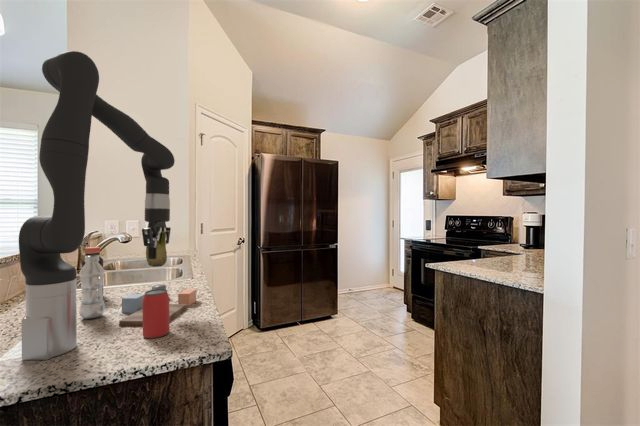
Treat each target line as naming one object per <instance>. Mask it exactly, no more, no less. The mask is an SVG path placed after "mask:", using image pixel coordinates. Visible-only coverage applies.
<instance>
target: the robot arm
mask: <svg viewBox="0 0 640 426" xmlns="http://www.w3.org/2000/svg"><path fill="white" fill-rule="evenodd" d="M41 72H42V75H43V77H44V78H45V80H46V82H47V83H48V84H49V85H51V87H53V88H54V89H55V90H56V91H57V92H58V93H59V96H58V100H57V102H56V105H55V107H54V109H53V111H52V113H51V115H50V117H49V119H48V121H47V122H46V124H45V126H44V129H43V131H42V135H41V138H40V147H39V154H38V155H39V156H38V158H39V164H40V167H41V169H42V172H43V173H44V175H45V178H46V179H47V181H48V183H49V185H50V187H51V190H52V193H53V207H52V209H53V210H52V215H36V216H32V217H29V218H28V219H27V220H24V221H25V222H23V223H22V226H21V227H20V230H19V233H18V251H19V263H20V264H19V265H20V270H21V273H22V274H23V276H24V279H25V317H23V318H22V319H21V360H23V361H24V360H27V361H28V360H31V361H32V360H36V361H37V360H39V361H40V360H45V361H46V360H50V359H52V358H55V357H58V356H61V355H63V354H66V353H68V352H71V351H72V350H74V349H75V348H76V347H77V344H78V343H77V342H78V340H77V337H78V336H77V334H78V333H77V329H78V328H77V327H78V326H77V321H78V320H77V269H76V267H75V266H73V265H71V264H70V263H67V262H66V261H64V260H63V258H62V256H61V254H70V253H71V254H72V253H73V252H75V251H77V250H78V249H80V247H81V246H82V244H83V241H84V239H85V231H86V211H85V192H86V190H85V189H86V175H87V167H88V162H89V161H88V160H89V152H90V151H89V149H90V137H91V136H90V134H91V129H92V128H91V127H92V118H95V119H96V120H98V121H99V122H100V123H101V124H103V125H104V126H105V127H106V128H107V129H109V130H110V131H111V132H112V133H113V134H114V135H115V136H117V138H118V139H120V140H121V141H122V142H123V143H124V144H125V145H126V146H127V147H129V149H131V150H132V151H133V152H136V153H141V154H142V156H141V160H140V162H141V168H142V172H143V176H144V179H145V199H144V222H146V223H147V222H148V223H147V224H148V225H147V227H142V229H141V232H142V233H141V235H142V240H143V246H144V247H146V246H147V247H148V248H149V251H148V258H149V259H156V245H157V241H159V238H160V236H161V235H162V232H166V237H165V246H167V245H168V244H169V243H170V237H171V227H168V226H167V224H166V222H167V223H168V222H169V221H170V220H171V215H170V214H171V209H170V208H171V199H170V180H169V178H167V177H165V176H163V175H162V171H165V170H170V169H171V168H172V167H173V166H175V161H176V160H175V156H174V154H173V153H172V151H171V150H170V149H169V148H168V147H167V146H165V145H164V144H163V143H161V142H159V140H157V139H156V138H154V137H152V136H151V135H150V134H148V133H147V132H146V130H145V129H144V128H143V127H142V126H141V125H140V123H138V122H137V121H136V120H135V119H134V118H133V117H131V116H130V115H128V114H127V113H125V112H123V111H122V110H120V109H118V108H116V107H115V106H113V105H111V104H110V103H109V102H107V101H105V100H104V99H103V98H102V97H100V96H99V95H98V94H97V92H98V88H99V85H100V84H99V83H100V75H99V73H100V72H99V70H98V67H97V65H96V63H95V62H94V60H93V59H92V58H90V56H89V55H87V54H86V53H83V52H81V51H78V50H69V51H63V52H60V53H59V54H57V55H54V56H51V57H49V58H47V59H45V60H44V62H42V67H41ZM147 240H148V242H147ZM153 241H154V243H153Z"/></svg>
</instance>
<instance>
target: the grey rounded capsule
mask: <svg viewBox="0 0 640 426" xmlns="http://www.w3.org/2000/svg"><path fill="white" fill-rule="evenodd" d="M154 289H166V290H167V284H164V283H162V284H154V285H152V286H151V290H154Z"/></svg>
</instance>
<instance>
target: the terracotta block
mask: <svg viewBox="0 0 640 426" xmlns="http://www.w3.org/2000/svg"><path fill="white" fill-rule="evenodd" d="M177 297H178V298H177V302H178V303H177V304H187V307H190V306H191V305H193V304H194V303H195V302H196V301H197V288H195V289H188V288H187V289H184V290H182V291H181V292H179V293H178V294H177Z"/></svg>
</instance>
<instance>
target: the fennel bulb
mask: <svg viewBox="0 0 640 426" xmlns="http://www.w3.org/2000/svg"><path fill="white" fill-rule="evenodd" d="M165 237H166V232H162V235H161V236H160V238H159V241H157V245H156V259H149V258H148V251H149V248H148V247H147V246H145V259H146V261H147V265H148V266H150V267H153V268H154V267H155V268H157V267H162V266H165V264H166V263H167V258H168V256H167V253H168V251H167V247H166V246H167V245H166V246H165ZM147 242H148V240H147ZM153 243H154V241H153Z"/></svg>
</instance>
